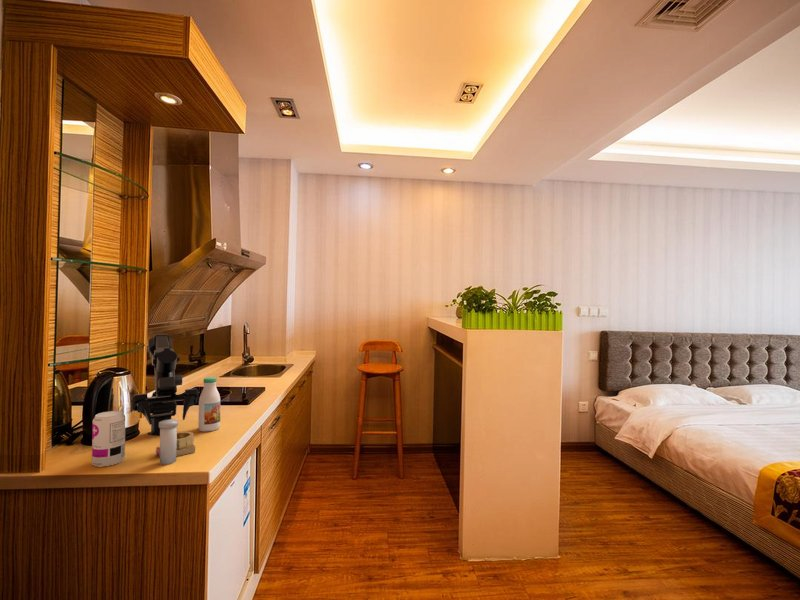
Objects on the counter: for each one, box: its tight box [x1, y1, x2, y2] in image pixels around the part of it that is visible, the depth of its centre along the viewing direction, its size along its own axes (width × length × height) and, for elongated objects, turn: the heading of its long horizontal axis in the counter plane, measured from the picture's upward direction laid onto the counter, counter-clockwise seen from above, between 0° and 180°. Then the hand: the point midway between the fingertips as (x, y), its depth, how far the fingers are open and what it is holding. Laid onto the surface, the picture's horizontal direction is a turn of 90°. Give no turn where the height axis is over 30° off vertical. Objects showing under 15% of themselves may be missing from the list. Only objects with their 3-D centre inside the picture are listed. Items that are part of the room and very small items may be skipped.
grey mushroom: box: [159, 418, 179, 466], centre depth 124 cm, size 5×5×12 cm
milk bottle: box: [197, 376, 221, 433], centre depth 156 cm, size 8×8×20 cm
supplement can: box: [91, 410, 126, 467], centre depth 123 cm, size 8×8×15 cm
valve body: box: [155, 431, 196, 457], centre depth 133 cm, size 14×11×5 cm
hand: (167, 421), depth 127 cm, fingers open, 9 cm apart
